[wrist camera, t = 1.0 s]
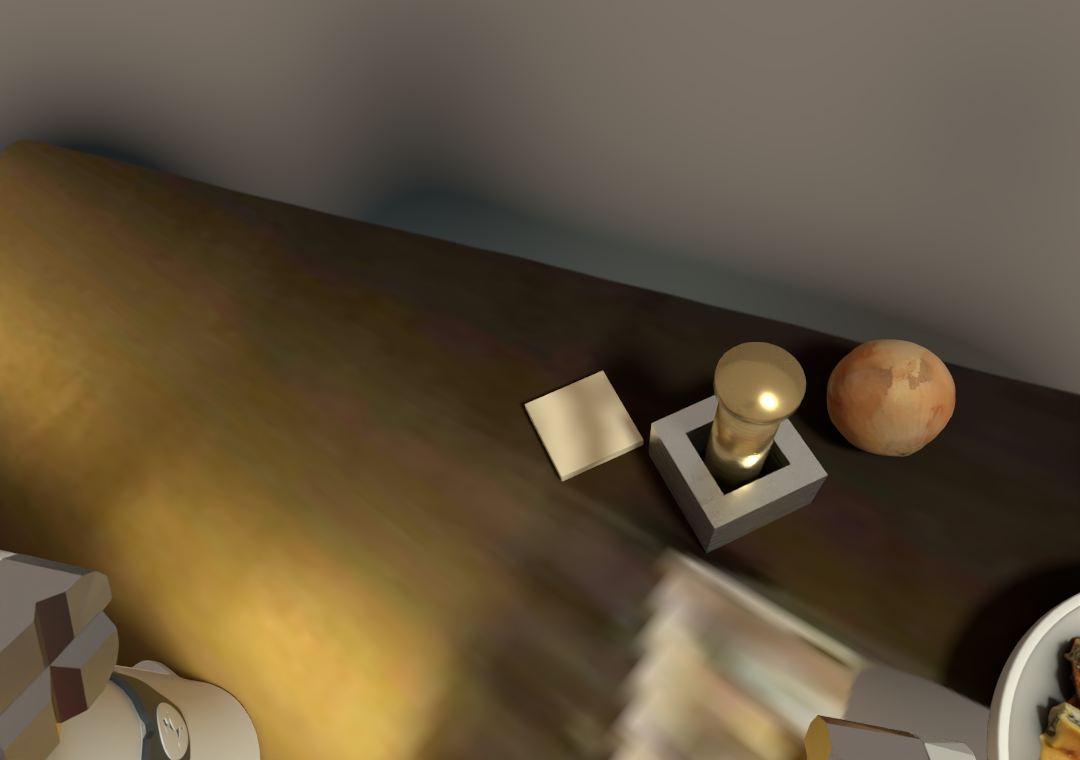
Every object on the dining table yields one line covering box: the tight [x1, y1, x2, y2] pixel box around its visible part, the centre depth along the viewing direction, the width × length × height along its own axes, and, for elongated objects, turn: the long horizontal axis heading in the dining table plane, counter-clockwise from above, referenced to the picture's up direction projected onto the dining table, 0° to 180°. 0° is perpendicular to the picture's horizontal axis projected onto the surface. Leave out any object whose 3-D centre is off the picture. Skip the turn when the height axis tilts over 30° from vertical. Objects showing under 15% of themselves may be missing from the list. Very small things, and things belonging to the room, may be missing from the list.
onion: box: [827, 339, 955, 457], centre depth 64 cm, size 10×10×10 cm
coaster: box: [525, 371, 643, 481], centre depth 70 cm, size 8×8×1 cm
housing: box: [649, 395, 827, 553], centre depth 64 cm, size 10×10×6 cm
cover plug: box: [703, 342, 806, 495], centre depth 60 cm, size 6×6×17 cm
